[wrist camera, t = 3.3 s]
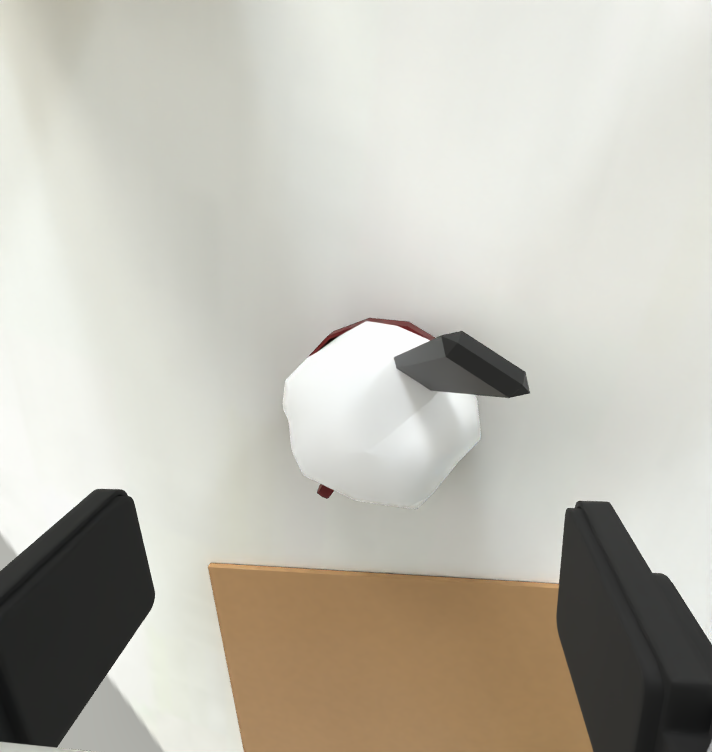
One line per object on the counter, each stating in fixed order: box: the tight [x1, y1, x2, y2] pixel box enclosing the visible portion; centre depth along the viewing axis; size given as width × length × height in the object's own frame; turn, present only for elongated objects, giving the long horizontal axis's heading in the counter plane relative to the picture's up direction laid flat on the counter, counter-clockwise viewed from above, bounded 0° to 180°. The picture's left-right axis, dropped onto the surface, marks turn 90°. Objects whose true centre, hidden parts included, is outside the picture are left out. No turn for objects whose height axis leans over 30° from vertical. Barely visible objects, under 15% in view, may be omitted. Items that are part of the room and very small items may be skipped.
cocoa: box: [282, 318, 530, 509], centre depth 15 cm, size 10×6×12 cm, turn 127°
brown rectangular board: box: [208, 563, 593, 752], centre depth 27 cm, size 20×15×1 cm
